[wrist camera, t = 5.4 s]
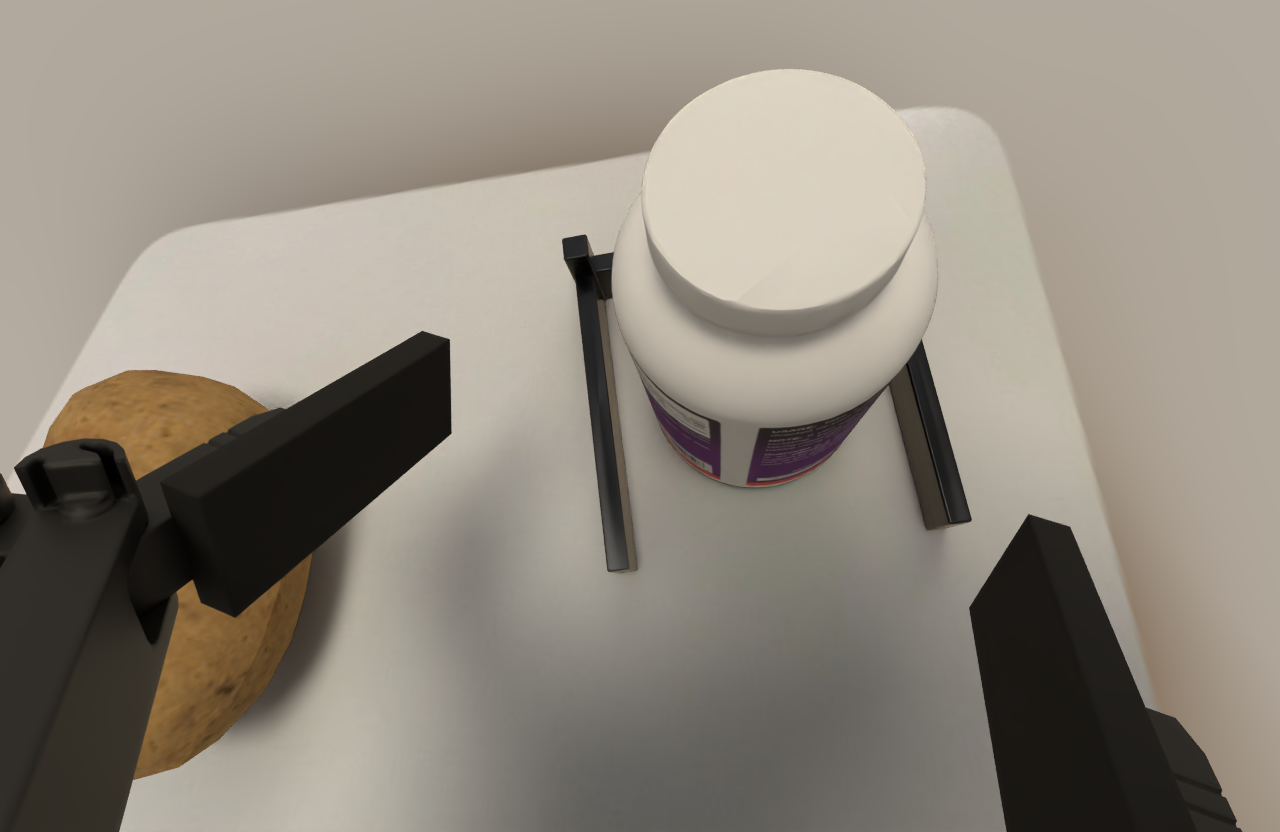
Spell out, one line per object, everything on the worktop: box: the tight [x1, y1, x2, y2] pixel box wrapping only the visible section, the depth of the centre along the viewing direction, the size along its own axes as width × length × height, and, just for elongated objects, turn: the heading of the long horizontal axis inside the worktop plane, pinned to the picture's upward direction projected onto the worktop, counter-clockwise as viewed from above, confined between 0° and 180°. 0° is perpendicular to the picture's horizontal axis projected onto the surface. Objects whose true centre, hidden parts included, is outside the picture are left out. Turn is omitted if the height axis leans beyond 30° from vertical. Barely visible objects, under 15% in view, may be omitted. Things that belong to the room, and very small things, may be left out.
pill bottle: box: [612, 69, 938, 487], centre depth 19 cm, size 8×8×14 cm
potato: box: [43, 370, 313, 780], centre depth 23 cm, size 10×14×8 cm
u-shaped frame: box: [562, 235, 972, 573], centre depth 24 cm, size 13×13×4 cm
